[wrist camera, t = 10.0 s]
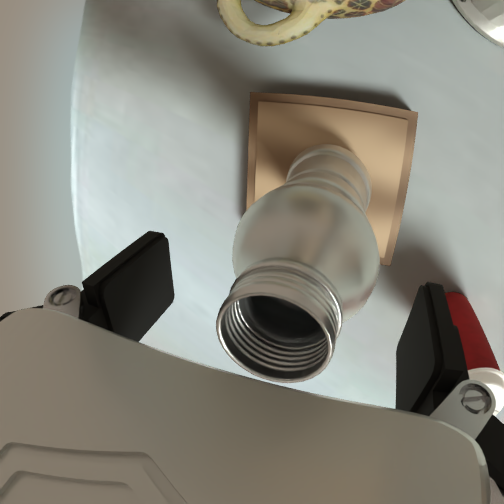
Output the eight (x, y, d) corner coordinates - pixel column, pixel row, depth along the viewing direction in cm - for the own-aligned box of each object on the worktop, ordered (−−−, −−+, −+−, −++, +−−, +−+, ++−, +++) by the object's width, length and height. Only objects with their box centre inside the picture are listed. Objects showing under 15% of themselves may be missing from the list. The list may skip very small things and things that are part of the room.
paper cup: (406, 301, 32) (416, 402, 20) (468, 271, 29) (507, 365, 17) (428, 347, 34) (438, 444, 22) (484, 322, 30) (513, 416, 18)
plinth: (260, 92, 28) (249, 92, 25) (412, 111, 24) (418, 112, 21) (254, 228, 34) (244, 241, 32) (388, 251, 31) (390, 267, 28)
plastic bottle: (333, 123, 24) (270, 183, 7) (386, 186, 25) (424, 365, 8) (277, 172, 28) (138, 309, 11) (329, 230, 28) (271, 426, 11)
